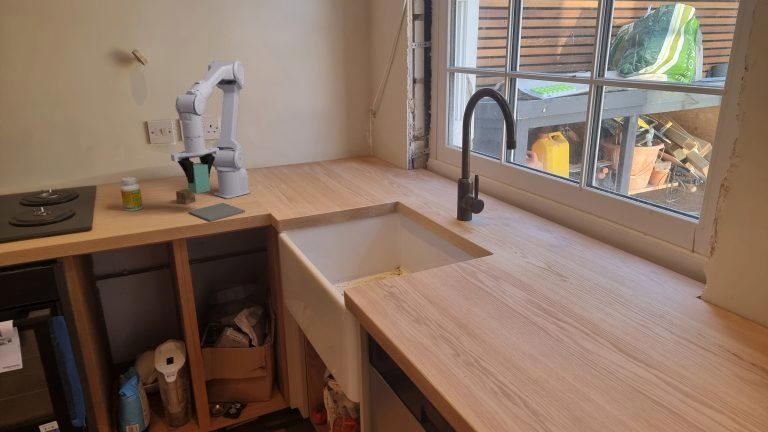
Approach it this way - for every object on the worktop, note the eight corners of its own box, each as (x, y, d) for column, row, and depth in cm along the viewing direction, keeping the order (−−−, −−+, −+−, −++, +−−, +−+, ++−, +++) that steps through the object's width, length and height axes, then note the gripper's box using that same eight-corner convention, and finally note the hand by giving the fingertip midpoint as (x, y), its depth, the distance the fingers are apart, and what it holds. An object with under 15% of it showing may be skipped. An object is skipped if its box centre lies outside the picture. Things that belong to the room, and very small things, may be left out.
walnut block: (186, 200, 171) (185, 188, 170) (195, 201, 170) (194, 190, 168) (177, 203, 168) (175, 191, 167) (186, 205, 166) (185, 193, 165)
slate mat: (223, 204, 167) (223, 202, 166) (245, 212, 159) (245, 210, 159) (188, 213, 158) (188, 211, 158) (210, 221, 151) (209, 219, 150)
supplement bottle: (135, 211, 159) (130, 181, 156) (120, 210, 160) (115, 180, 157) (146, 206, 164) (142, 176, 161) (131, 205, 165) (126, 175, 162)
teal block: (202, 187, 161) (199, 162, 158) (210, 190, 158) (207, 164, 155) (188, 190, 158) (185, 164, 155) (196, 193, 155) (193, 167, 152)
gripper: (208, 131, 160) (212, 174, 164) (163, 137, 150) (169, 183, 154) (221, 134, 156) (225, 178, 160) (175, 140, 145) (181, 187, 150)
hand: (198, 181), depth 157 cm, fingers closed on teal block, 4 cm apart
